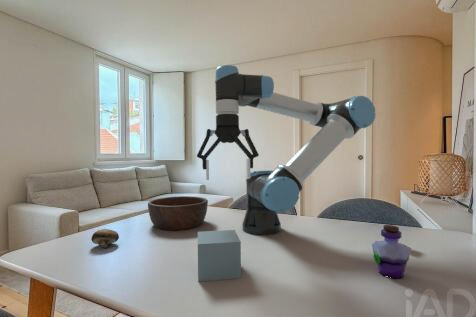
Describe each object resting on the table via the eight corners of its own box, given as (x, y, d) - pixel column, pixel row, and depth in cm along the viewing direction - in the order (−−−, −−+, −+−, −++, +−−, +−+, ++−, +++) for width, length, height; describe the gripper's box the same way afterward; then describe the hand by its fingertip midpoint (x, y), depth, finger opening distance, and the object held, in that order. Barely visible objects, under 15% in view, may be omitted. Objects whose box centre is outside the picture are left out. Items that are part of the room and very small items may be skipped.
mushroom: (105, 242, 82) (106, 223, 85) (84, 250, 83) (86, 231, 87) (123, 247, 88) (123, 229, 92) (104, 255, 90) (105, 237, 93)
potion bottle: (363, 270, 68) (363, 223, 68) (387, 264, 72) (387, 219, 72) (395, 285, 60) (395, 232, 60) (420, 278, 64) (420, 228, 64)
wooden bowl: (203, 232, 102) (203, 206, 102) (138, 233, 103) (138, 206, 103) (211, 217, 127) (210, 195, 127) (158, 217, 128) (158, 196, 128)
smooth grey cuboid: (234, 261, 75) (234, 229, 74) (240, 278, 65) (240, 241, 64) (197, 263, 73) (197, 231, 73) (198, 281, 63) (197, 244, 63)
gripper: (261, 116, 94) (262, 176, 94) (189, 115, 90) (190, 179, 90) (267, 113, 87) (267, 178, 87) (188, 112, 82) (189, 181, 83)
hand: (228, 179), depth 89 cm, fingers open, 13 cm apart
